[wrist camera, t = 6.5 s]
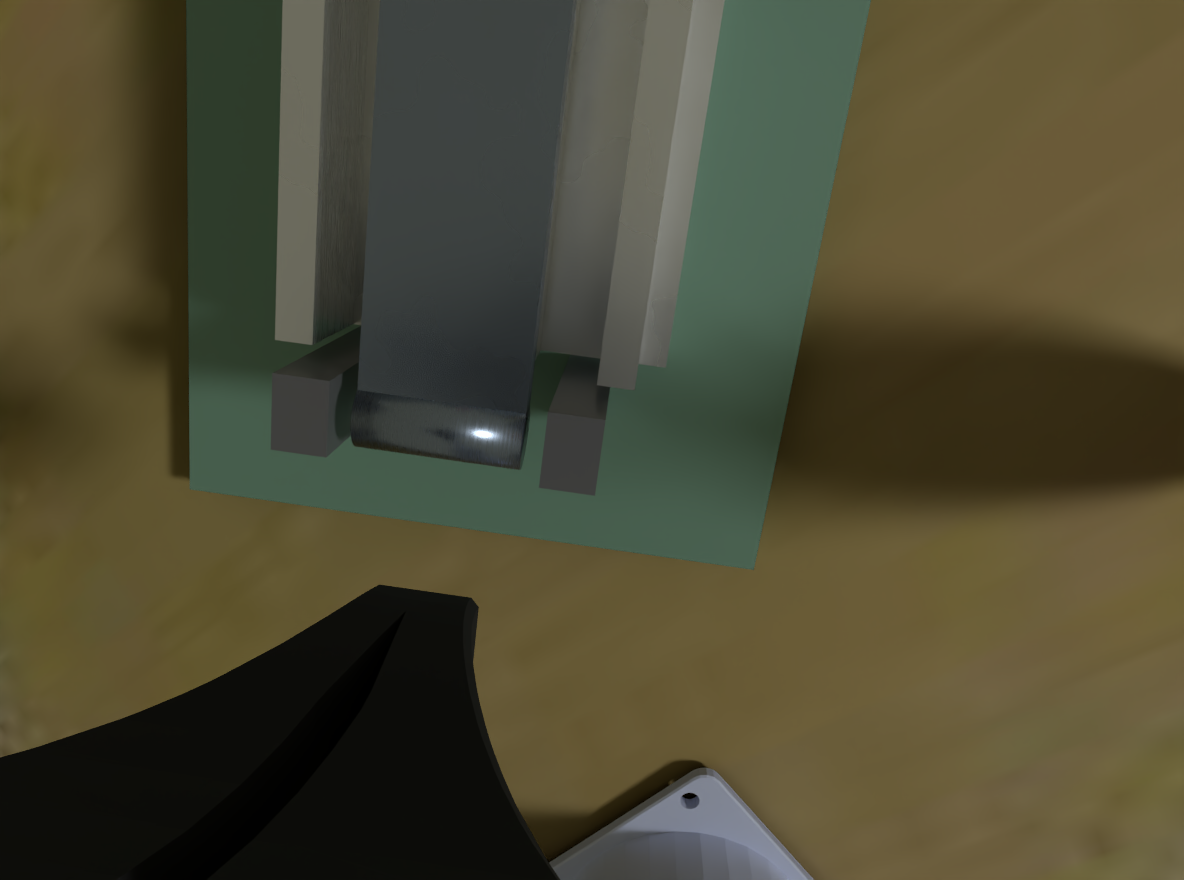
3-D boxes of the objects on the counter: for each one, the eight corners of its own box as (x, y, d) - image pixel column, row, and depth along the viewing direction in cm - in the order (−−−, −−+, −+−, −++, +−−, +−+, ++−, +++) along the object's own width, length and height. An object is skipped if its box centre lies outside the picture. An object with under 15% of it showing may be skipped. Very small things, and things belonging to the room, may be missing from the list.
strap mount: (606, 417, 20) (593, 504, 15) (360, 382, 20) (260, 456, 15) (719, -387, 16) (761, -679, 10) (403, -428, 16) (283, -738, 10)
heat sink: (663, 353, 20) (669, 395, 16) (317, 304, 20) (240, 334, 16) (725, -37, 17) (750, -98, 14) (332, -90, 17) (245, -165, 14)
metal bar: (534, 437, 18) (516, 479, 15) (390, 417, 18) (348, 455, 15) (620, -288, 14) (616, -395, 12) (441, -311, 14) (397, -423, 12)
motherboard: (749, 556, 22) (753, 570, 21) (205, 478, 22) (189, 489, 21) (948, -425, 16) (964, -455, 15) (203, -520, 16) (182, -555, 15)
